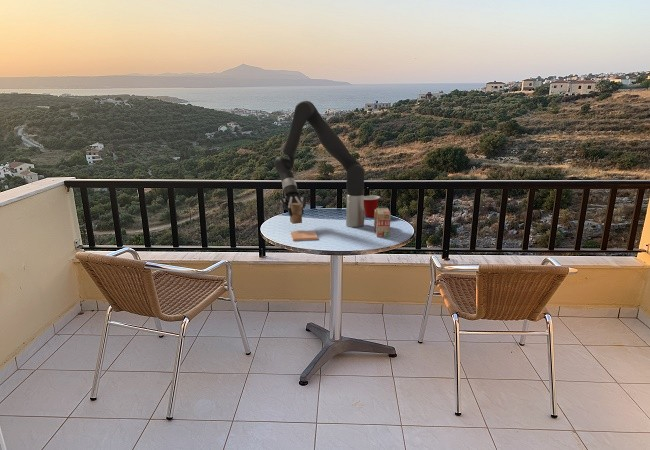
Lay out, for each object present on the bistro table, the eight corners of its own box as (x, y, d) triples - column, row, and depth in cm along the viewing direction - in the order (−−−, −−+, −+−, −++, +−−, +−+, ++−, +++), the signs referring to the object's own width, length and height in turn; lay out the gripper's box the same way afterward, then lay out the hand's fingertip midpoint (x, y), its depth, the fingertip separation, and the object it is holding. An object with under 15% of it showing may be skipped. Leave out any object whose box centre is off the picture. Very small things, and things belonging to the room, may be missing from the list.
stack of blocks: (373, 225, 220) (374, 203, 216) (385, 226, 219) (386, 204, 216) (377, 237, 199) (378, 213, 196) (389, 237, 199) (390, 213, 196)
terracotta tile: (314, 232, 206) (314, 230, 205) (317, 239, 194) (317, 237, 194) (290, 233, 204) (290, 231, 203) (293, 240, 192) (293, 238, 192)
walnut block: (299, 220, 212) (298, 202, 209) (302, 222, 207) (301, 204, 205) (290, 221, 210) (289, 202, 207) (292, 223, 206) (292, 204, 203)
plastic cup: (360, 214, 245) (361, 194, 242) (378, 214, 245) (379, 195, 241) (361, 218, 234) (361, 198, 231) (379, 218, 234) (380, 198, 231)
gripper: (277, 185, 208) (284, 212, 200) (304, 183, 213) (311, 210, 205) (276, 193, 214) (282, 220, 207) (301, 191, 219) (308, 217, 211)
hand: (296, 215), depth 206 cm, fingers closed on walnut block, 5 cm apart
